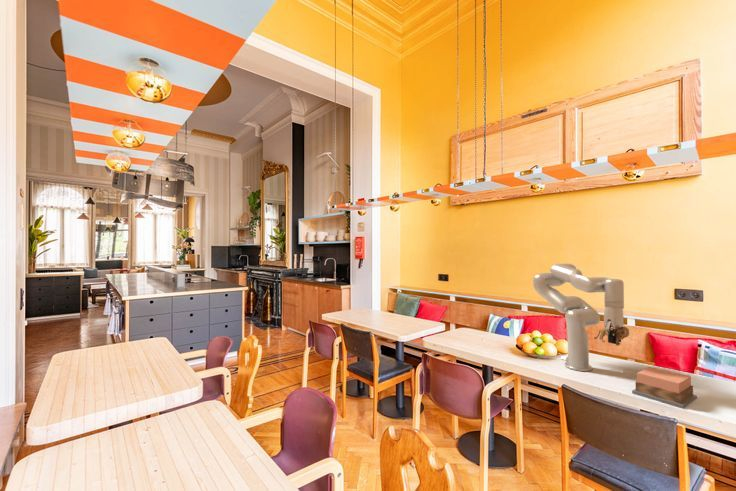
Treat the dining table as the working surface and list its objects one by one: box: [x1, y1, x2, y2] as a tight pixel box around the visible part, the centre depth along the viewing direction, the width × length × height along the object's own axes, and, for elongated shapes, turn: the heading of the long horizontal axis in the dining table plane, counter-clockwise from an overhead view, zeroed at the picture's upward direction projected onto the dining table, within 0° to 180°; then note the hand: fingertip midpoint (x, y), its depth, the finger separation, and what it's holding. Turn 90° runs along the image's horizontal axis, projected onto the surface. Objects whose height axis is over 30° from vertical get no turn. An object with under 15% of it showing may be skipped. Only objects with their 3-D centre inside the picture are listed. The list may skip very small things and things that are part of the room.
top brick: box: [636, 366, 692, 393], centre depth 144 cm, size 14×14×4 cm
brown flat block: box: [635, 381, 694, 404], centre depth 144 cm, size 15×15×4 cm
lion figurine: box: [593, 326, 630, 346], centre depth 162 cm, size 15×5×9 cm, turn 36°
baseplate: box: [631, 388, 698, 409], centre depth 144 cm, size 17×17×1 cm
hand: (614, 341), depth 160 cm, fingers closed on lion figurine, 4 cm apart
